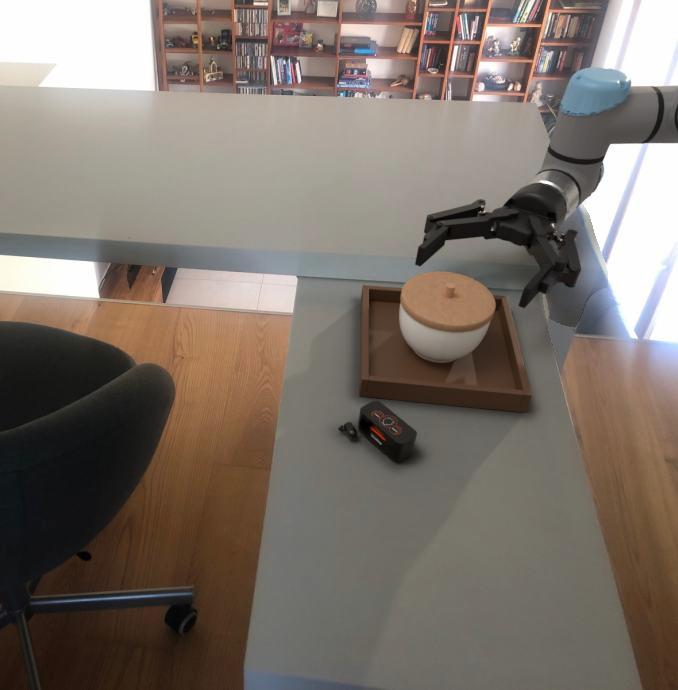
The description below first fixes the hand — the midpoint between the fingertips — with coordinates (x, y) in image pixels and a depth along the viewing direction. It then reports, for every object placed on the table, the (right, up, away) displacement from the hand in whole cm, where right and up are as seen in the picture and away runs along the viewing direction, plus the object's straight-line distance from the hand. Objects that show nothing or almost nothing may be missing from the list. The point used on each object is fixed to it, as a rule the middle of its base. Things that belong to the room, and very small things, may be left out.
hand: (469, 276), depth 84 cm
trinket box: (-3, -9, +2) cm, 10 cm away
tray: (-3, -9, +3) cm, 10 cm away
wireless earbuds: (-13, -19, -8) cm, 25 cm away
